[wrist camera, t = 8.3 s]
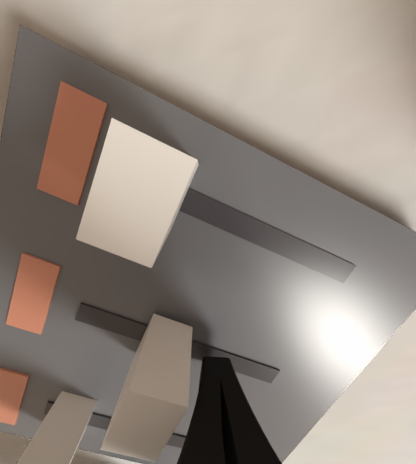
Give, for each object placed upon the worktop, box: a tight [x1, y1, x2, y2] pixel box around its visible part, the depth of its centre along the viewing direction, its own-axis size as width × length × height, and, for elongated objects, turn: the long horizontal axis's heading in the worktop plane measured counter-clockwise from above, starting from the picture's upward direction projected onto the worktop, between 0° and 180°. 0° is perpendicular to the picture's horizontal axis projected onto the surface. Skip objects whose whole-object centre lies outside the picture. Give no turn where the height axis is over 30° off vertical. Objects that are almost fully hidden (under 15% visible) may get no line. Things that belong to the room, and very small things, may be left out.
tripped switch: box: [100, 314, 192, 462], centre depth 8 cm, size 2×3×4 cm, turn 155°
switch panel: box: [0, 24, 416, 464], centre depth 10 cm, size 20×20×6 cm
